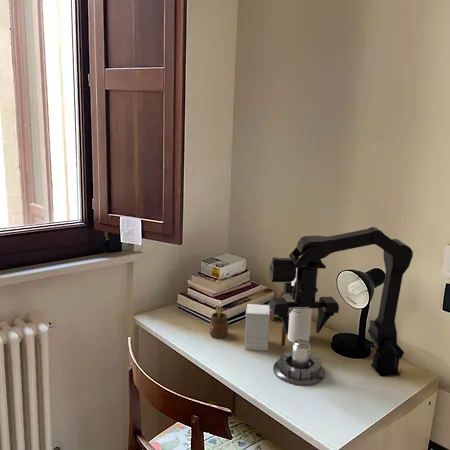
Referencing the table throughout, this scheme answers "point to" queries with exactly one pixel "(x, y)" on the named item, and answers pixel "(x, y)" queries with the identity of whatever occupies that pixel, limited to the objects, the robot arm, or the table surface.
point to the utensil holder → (218, 324)
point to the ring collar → (299, 371)
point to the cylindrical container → (299, 323)
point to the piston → (300, 354)
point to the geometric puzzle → (272, 313)
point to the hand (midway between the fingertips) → (301, 333)
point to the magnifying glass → (288, 299)
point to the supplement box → (257, 327)
